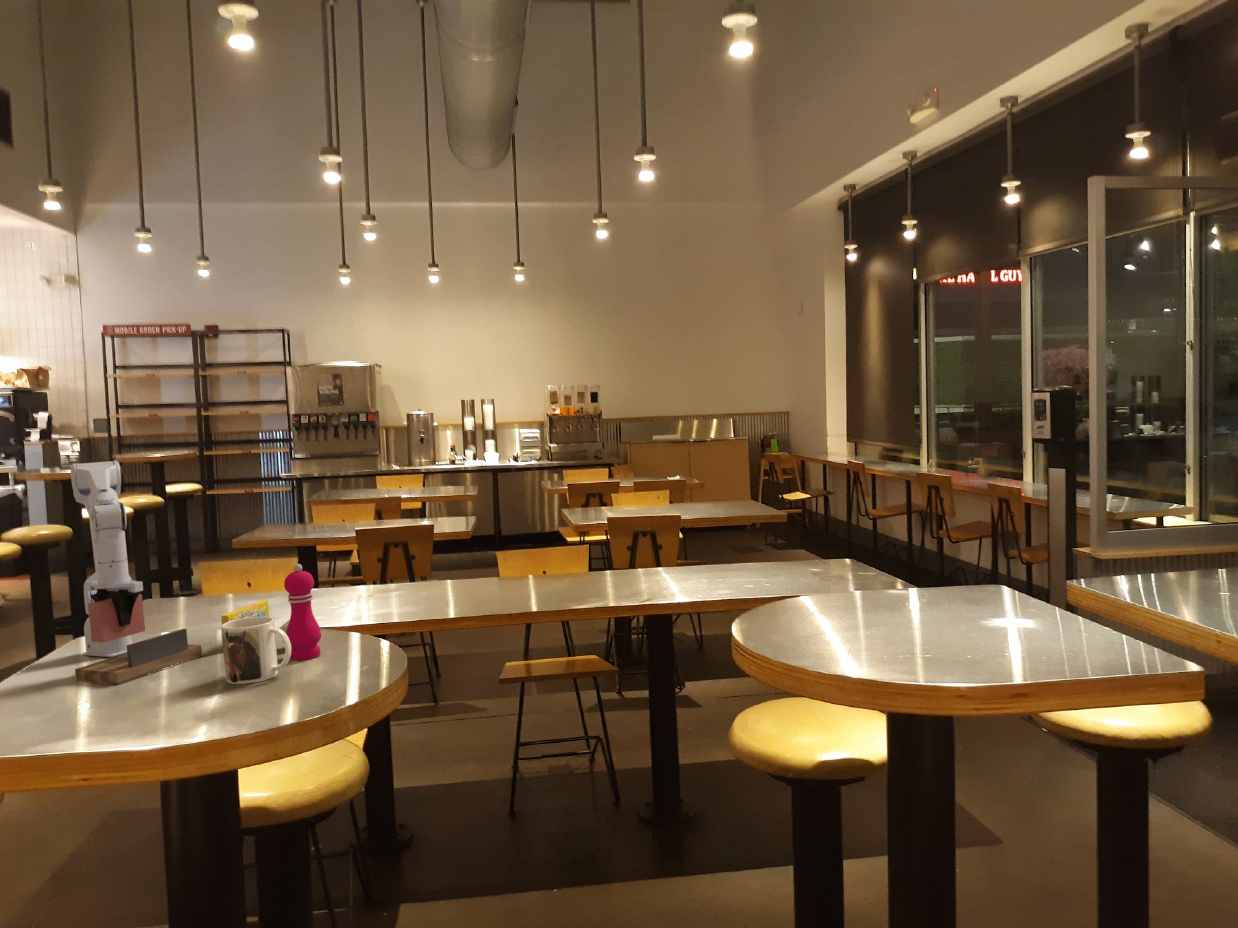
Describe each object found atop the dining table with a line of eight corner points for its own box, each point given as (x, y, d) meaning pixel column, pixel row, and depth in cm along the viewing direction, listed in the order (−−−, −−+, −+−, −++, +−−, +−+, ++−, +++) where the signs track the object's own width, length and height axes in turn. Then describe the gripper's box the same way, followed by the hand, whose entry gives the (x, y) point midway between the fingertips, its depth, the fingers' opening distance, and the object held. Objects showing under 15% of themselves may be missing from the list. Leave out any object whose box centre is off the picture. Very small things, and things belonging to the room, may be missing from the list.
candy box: (230, 651, 209) (227, 615, 209) (222, 652, 210) (218, 615, 209) (271, 633, 225) (268, 599, 225) (263, 633, 226) (260, 599, 225)
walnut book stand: (76, 681, 192) (75, 669, 192) (162, 653, 211) (161, 642, 211) (117, 684, 187) (116, 672, 187) (202, 656, 206) (201, 645, 206)
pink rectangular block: (91, 641, 195) (88, 603, 195) (133, 630, 204) (130, 593, 204) (103, 642, 194) (99, 604, 193) (145, 630, 203) (141, 594, 202)
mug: (269, 666, 194) (264, 613, 194) (295, 675, 186) (290, 620, 185) (217, 678, 187) (212, 624, 186) (242, 689, 179) (237, 632, 178)
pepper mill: (329, 652, 203) (322, 560, 202) (308, 661, 196) (300, 567, 195) (302, 651, 205) (294, 560, 204) (280, 660, 198) (272, 566, 197)
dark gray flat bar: (128, 667, 190) (126, 645, 190) (184, 649, 203) (182, 628, 203) (132, 667, 190) (129, 645, 190) (188, 649, 203) (186, 628, 203)
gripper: (71, 564, 197) (77, 627, 198) (119, 565, 192) (125, 630, 192) (101, 558, 204) (107, 620, 205) (149, 558, 198) (155, 622, 199)
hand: (118, 624), depth 199 cm, fingers closed on pink rectangular block, 3 cm apart
